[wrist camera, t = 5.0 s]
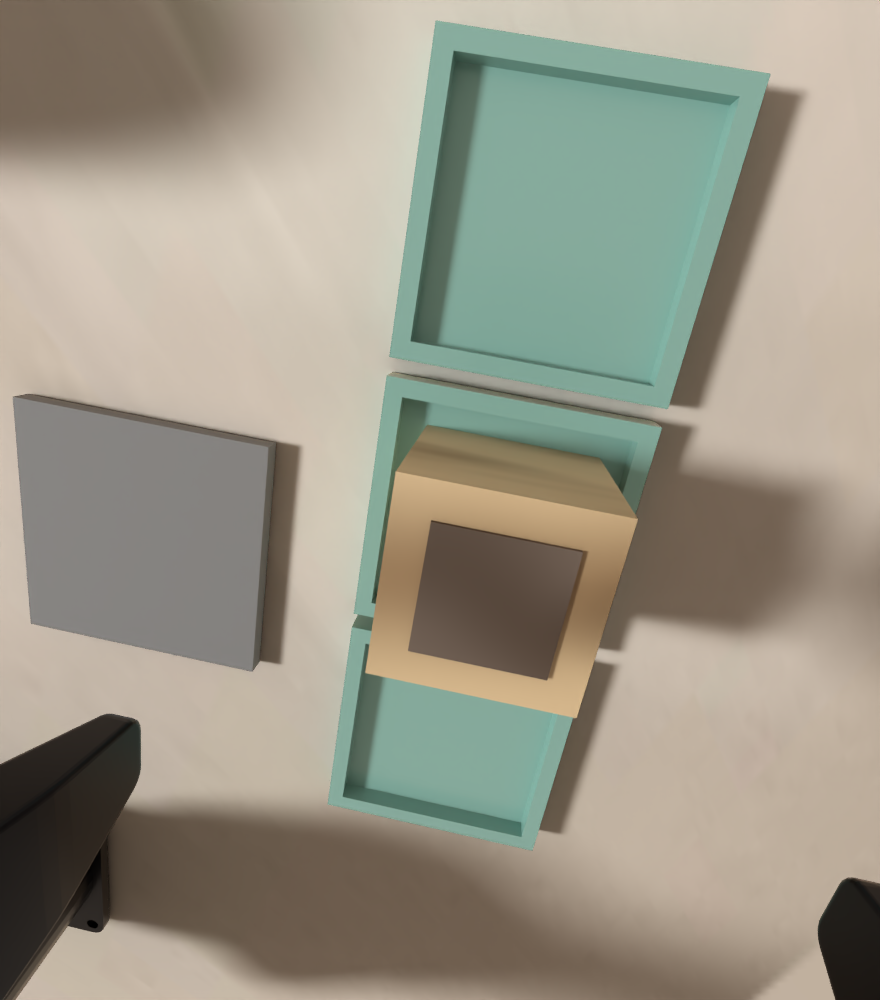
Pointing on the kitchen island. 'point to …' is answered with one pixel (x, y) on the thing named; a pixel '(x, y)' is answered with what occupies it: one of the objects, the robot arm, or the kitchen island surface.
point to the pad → (144, 529)
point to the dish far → (442, 755)
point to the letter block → (498, 570)
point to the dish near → (567, 210)
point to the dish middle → (499, 416)
